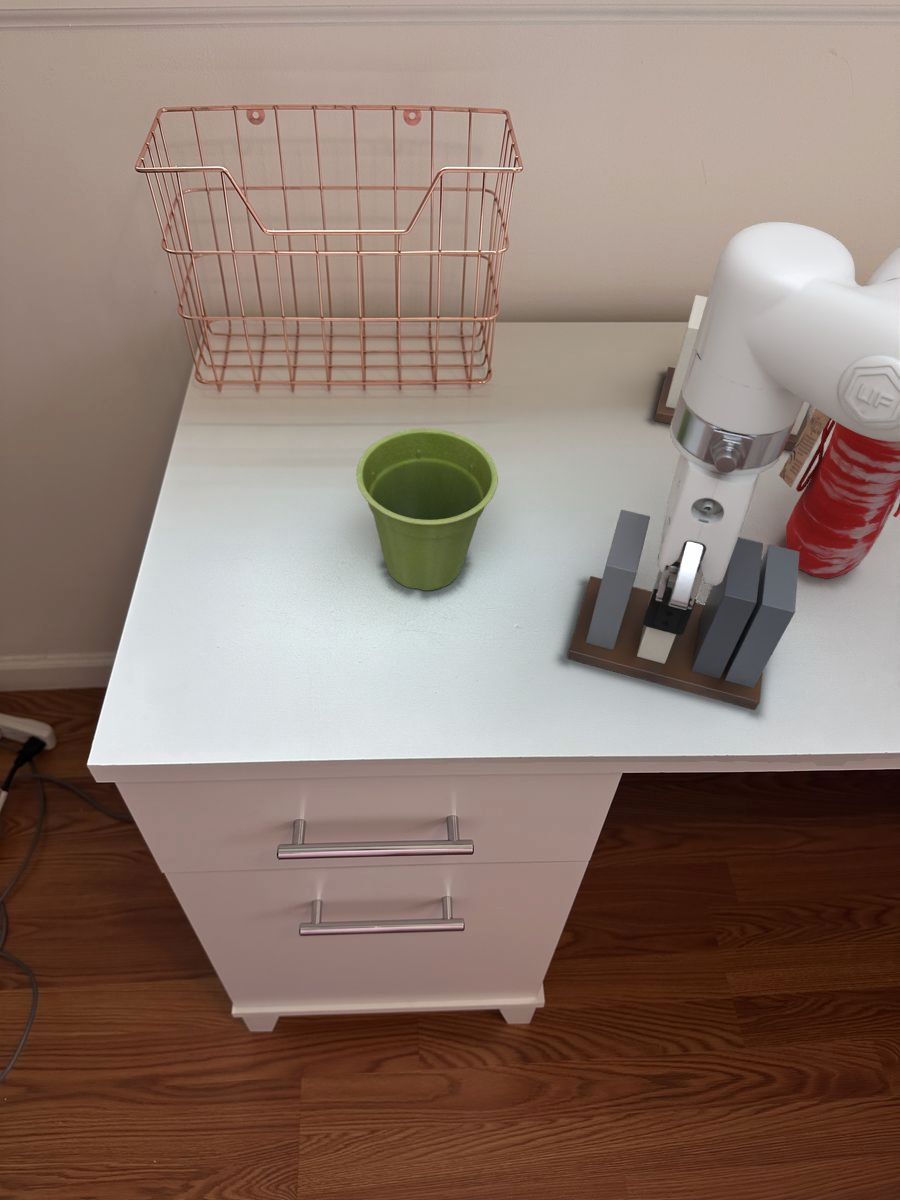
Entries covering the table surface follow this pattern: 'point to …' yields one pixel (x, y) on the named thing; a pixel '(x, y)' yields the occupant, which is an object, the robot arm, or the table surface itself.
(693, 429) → the robot arm
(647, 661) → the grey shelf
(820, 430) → the water bottle
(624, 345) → the table surface
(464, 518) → the plant pot
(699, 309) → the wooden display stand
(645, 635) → the beige box
